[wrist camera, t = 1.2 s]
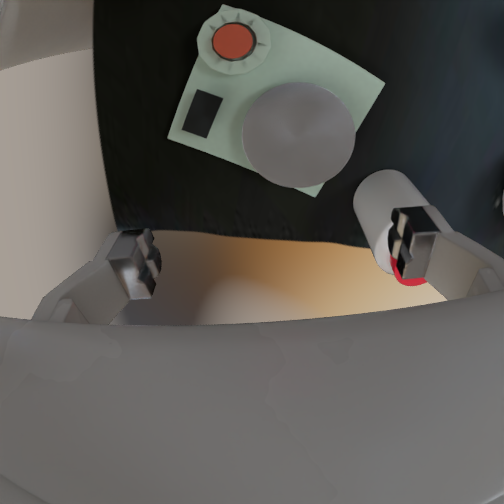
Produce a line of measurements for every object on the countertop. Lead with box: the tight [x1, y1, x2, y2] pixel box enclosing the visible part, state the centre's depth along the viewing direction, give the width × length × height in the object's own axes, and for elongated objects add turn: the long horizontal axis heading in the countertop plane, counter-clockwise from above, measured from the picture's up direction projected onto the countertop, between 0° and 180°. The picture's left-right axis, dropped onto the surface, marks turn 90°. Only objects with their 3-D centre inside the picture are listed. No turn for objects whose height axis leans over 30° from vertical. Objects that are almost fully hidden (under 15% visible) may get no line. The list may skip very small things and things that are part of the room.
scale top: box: [181, 82, 355, 188], centre depth 24 cm, size 15×10×1 cm
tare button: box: [213, 24, 253, 59], centre depth 19 cm, size 3×3×2 cm
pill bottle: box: [353, 170, 430, 286], centre depth 27 cm, size 8×8×11 cm
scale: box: [168, 5, 385, 197], centre depth 24 cm, size 16×14×3 cm
